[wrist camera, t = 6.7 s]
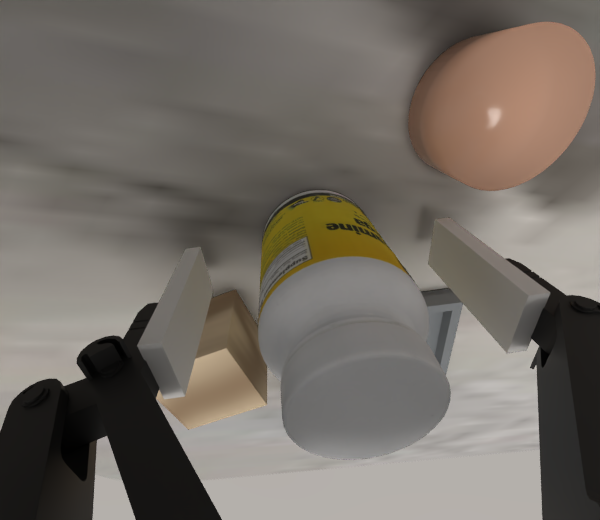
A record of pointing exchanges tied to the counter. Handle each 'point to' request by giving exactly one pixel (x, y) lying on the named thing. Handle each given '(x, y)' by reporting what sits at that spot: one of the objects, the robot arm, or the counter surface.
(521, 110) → the brown egg
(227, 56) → the counter surface
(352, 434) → the pill bottle
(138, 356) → the robot arm
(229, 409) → the cork block
